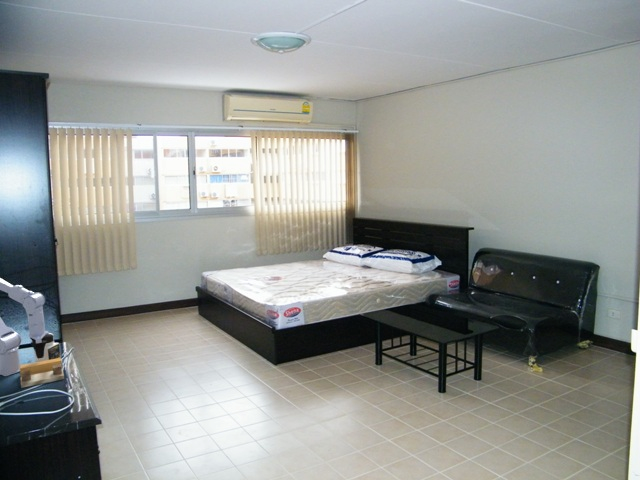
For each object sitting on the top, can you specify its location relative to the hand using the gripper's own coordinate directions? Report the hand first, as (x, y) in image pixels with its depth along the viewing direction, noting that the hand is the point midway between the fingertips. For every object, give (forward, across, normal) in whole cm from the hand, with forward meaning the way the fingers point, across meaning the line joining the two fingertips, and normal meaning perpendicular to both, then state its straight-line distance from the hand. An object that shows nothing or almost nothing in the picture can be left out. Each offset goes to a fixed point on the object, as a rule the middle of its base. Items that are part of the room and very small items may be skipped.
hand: (40, 355), depth 213 cm
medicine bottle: (+8, +14, -3) cm, 16 cm away
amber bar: (+8, 0, 0) cm, 8 cm away
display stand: (+8, -8, 0) cm, 11 cm away
